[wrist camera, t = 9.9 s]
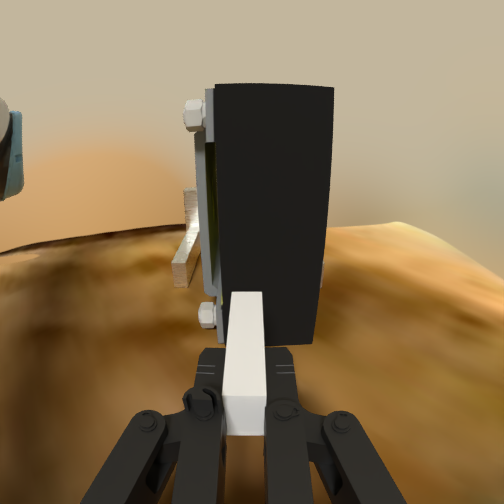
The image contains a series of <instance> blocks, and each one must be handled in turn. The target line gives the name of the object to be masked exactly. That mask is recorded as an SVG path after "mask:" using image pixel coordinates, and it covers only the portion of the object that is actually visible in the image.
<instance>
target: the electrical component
mask: <svg viewBox="0 0 504 504" xmlns="http://www.w3.org/2000/svg"><path fill="white" fill-rule="evenodd" d="M333 113H334V88H333V87H323V86H311V85H293V84H265V83H238V84H237V83H234V84H215V88H213V89H205V102H203V100H202V99H199V100H188V101H187V102H186V104H185V108H184V112H183V117H184V124H185V125H186V129H187V130H188V131H189V132H196V131H197V132H196V133H195V134H194V140H195V164H196V184H197V202H198V218H199V232H200V246H201V258H202V270H203V282H204V292H205V293H206V294H207V295H209V296H217V300H216V305H214V303H213V302H202V303H201V305H200V308H199V322H200V323H201V327H202V328H214V326H215V325H216V326H217V335H218V343H225V346H227V335H228V325H229V315H230V304H231V294H232V292H262V305H263V327H264V346H283V345H302V344H312V341H313V335H314V328H315V321H316V314H317V306H318V299H319V291H320V283H321V275H322V266H323V257H324V248H325V238H326V227H327V216H328V204H329V203H328V202H329V191H330V177H331V160H332V139H333ZM216 172H217V173H216ZM217 201H218V203H217ZM218 225H219V227H218Z"/></svg>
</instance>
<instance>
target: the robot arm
mask: <svg viewBox="0 0 504 504" xmlns="http://www.w3.org/2000/svg"><path fill="white" fill-rule="evenodd" d="M23 186H24V175H23V157H22V114H21V112H19V111H17V112H15V111H10V112H9V109H8V106H7V104H6V103H5V101H4V100H3V99H1V98H0V201H4V200H5V199H6V198H8V197H11V196H14V195H16V194H18V193H20V192H21V190H22V189H23ZM182 399H183V403H184V407H185V409H184V410H183V411H181V412H179V413H175V414H170V415H165V416H162V415H161V414H160V413H158V412H157V411H153V410H144V411H141V412H139V413H137V414H136V415H135V416H134V417H133V418H132V419H131V421H130V423H129V424H128V426H127V427H126V429H125V431H124V432H123V434H122V435H121V437H120V439H119V440H118V442H117V443H116V445H115V447H114V448H113V450H112V452H111V453H110V455H109V456H108V458H107V460H106V461H105V463H104V465H103V466H102V468H101V470H100V471H99V473H98V474H97V476H96V478H95V479H94V481H93V483H92V484H91V486H90V488H89V489H88V491H87V493H86V494H85V496H84V497H83V499H82V501H81V502H80V504H157V503H158V501H159V499H160V497H161V495H162V492H163V490H164V488H165V486H166V484H167V482H168V480H169V478H170V476H171V474H172V471H173V469H174V467H175V465H176V463H177V469H176V475H175V482H174V489H173V495H172V502H171V504H224V491H225V472H226V453H227V445H226V433H227V435H264V453H263V456H264V478H265V504H314V503H313V494H312V485H311V476H310V467H309V461H311V462H314V464H315V466H316V469H317V471H318V473H319V475H320V478H321V480H322V482H323V484H324V487H325V489H326V491H327V493H328V496H329V498H330V500H331V502H332V504H407V503H406V501H405V500H404V498H403V496H402V494H401V493H400V491H399V489H398V487H397V486H396V484H395V482H394V481H393V479H392V477H391V475H390V474H389V472H388V470H387V469H386V467H385V465H384V463H383V462H382V460H381V458H380V457H379V455H378V453H377V451H376V450H375V448H374V446H373V445H372V443H371V441H370V439H369V438H368V436H367V434H366V433H365V431H364V429H363V427H362V426H361V424H360V422H359V421H358V419H357V418H356V417H355V416H354V415H353V414H351V413H349V412H346V411H334V412H332V413H330V414H328V416H322V415H317V414H313V413H310V412H308V411H306V410H305V409H304V408H303V407H302V406H301V404H300V403H299V400H298V393H297V386H296V378H295V371H294V364H293V356H292V354H291V353H290V351H289V350H288V349H287V347H273V348H264V327H263V305H262V292H232V294H231V304H230V315H229V325H228V335H227V346H226V348H205V349H204V350H203V352H202V353H201V354H200V356H199V361H198V366H197V373H196V377H195V383H194V387H193V388H191V389H189V390H188V391H187V392H186V393H185V394H184V396H183V398H182ZM177 461H178V462H177Z"/></svg>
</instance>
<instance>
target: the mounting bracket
mask: <svg viewBox="0 0 504 504" xmlns="http://www.w3.org/2000/svg"><path fill="white" fill-rule="evenodd" d="M217 203H218V201H217ZM184 205H185V218H186V231H187V233H186V235H185V237H184V239H183V241H182V243H181V245H180V247H179V249H178V251H177V253H176V255H175V257H174V259H173V261H172V271H173V278H174V285H175V287H188V286H189V283H190V280H191V277H192V274H193V271H194V268H195V266H196V263H197V260H198V257H199V254H200V251H201V246H200V232H199V218H198V202H197V187H196V188H185V189H184ZM218 227H219V225H218ZM323 272H324V261H323V266H322V275H321V283H320V288H322V280H323Z"/></svg>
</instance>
